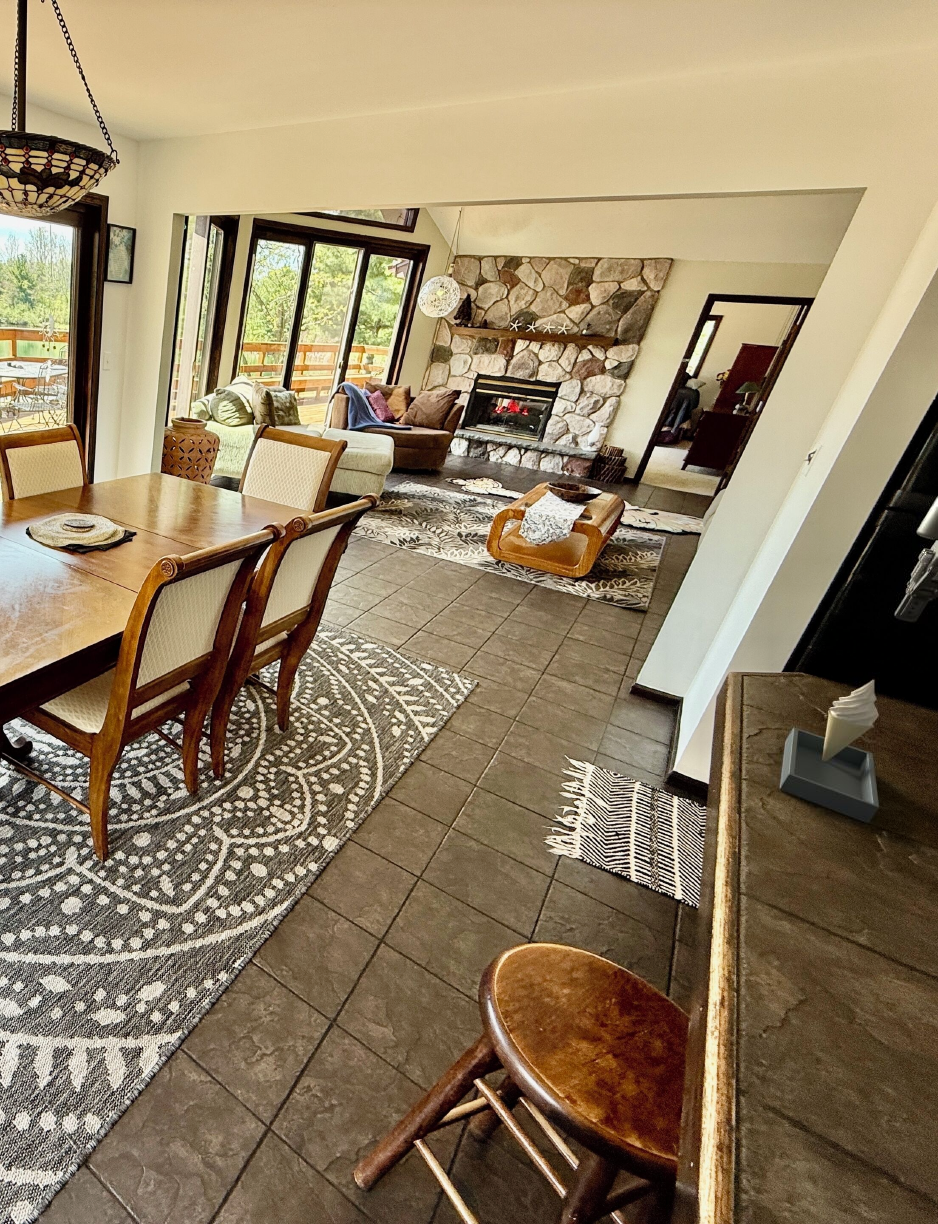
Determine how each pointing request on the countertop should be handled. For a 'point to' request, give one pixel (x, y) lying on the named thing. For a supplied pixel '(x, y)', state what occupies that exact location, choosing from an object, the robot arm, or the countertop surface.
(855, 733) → the ice cream cone
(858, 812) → the tray
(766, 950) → the countertop surface
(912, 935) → the countertop surface
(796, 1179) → the countertop surface
